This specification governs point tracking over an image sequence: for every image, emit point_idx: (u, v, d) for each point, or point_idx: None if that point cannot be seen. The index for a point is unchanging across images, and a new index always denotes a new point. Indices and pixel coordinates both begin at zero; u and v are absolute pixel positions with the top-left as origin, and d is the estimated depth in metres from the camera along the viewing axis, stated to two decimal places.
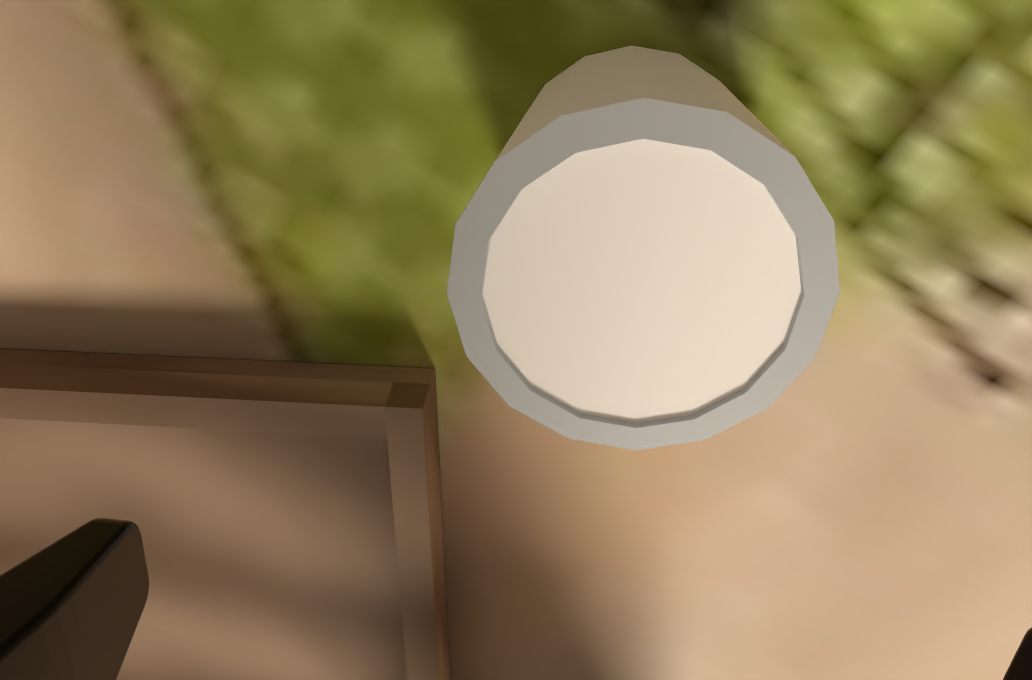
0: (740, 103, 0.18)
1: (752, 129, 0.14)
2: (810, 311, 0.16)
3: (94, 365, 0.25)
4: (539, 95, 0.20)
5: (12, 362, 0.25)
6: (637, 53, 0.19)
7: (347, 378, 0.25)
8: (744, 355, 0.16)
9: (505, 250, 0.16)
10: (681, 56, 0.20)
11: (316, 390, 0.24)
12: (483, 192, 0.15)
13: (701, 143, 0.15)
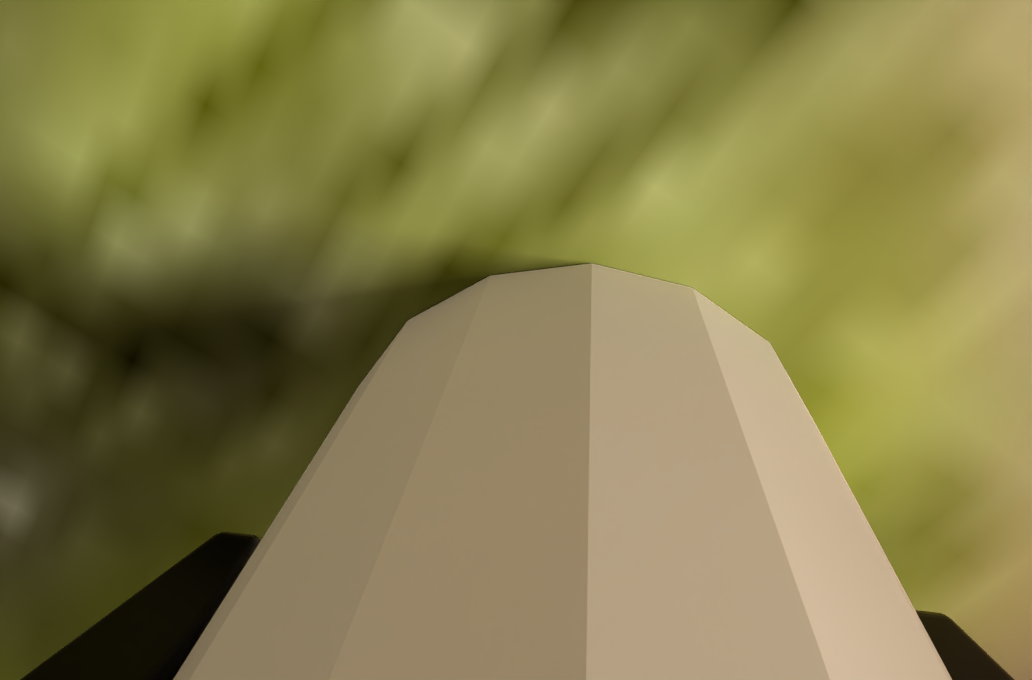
0: (306, 483, 0.07)
1: None
2: None
3: None
4: None
5: None
6: None
7: None
8: None
9: None
10: (344, 408, 0.10)
11: None
12: None
13: None
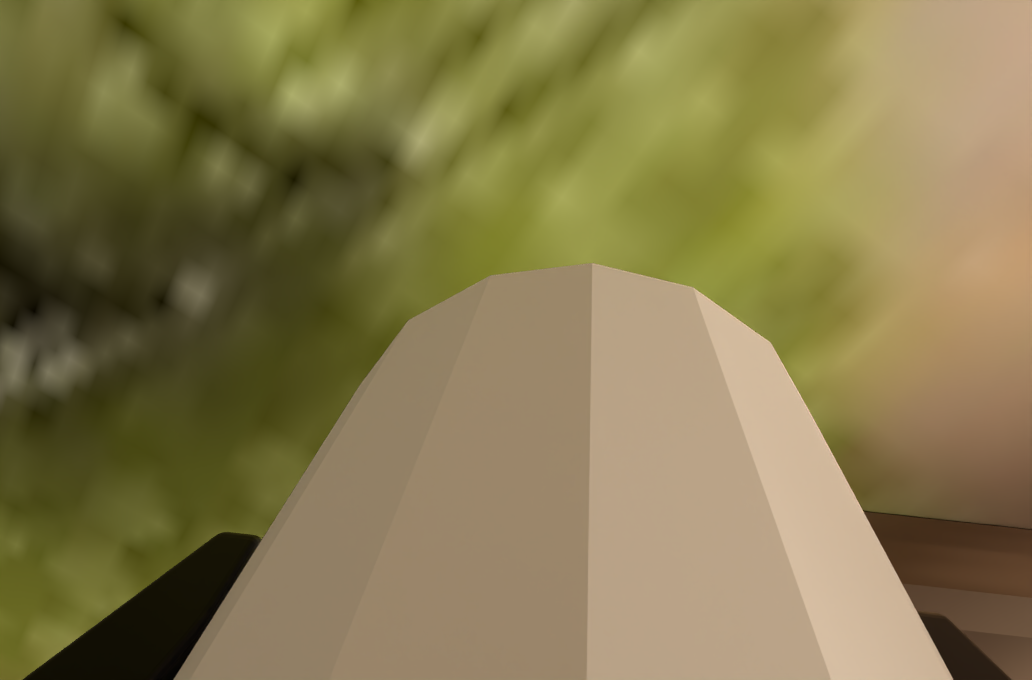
0: (307, 483, 0.07)
1: None
2: None
3: None
4: None
5: None
6: None
7: None
8: None
9: None
10: (345, 408, 0.10)
11: None
12: None
13: None
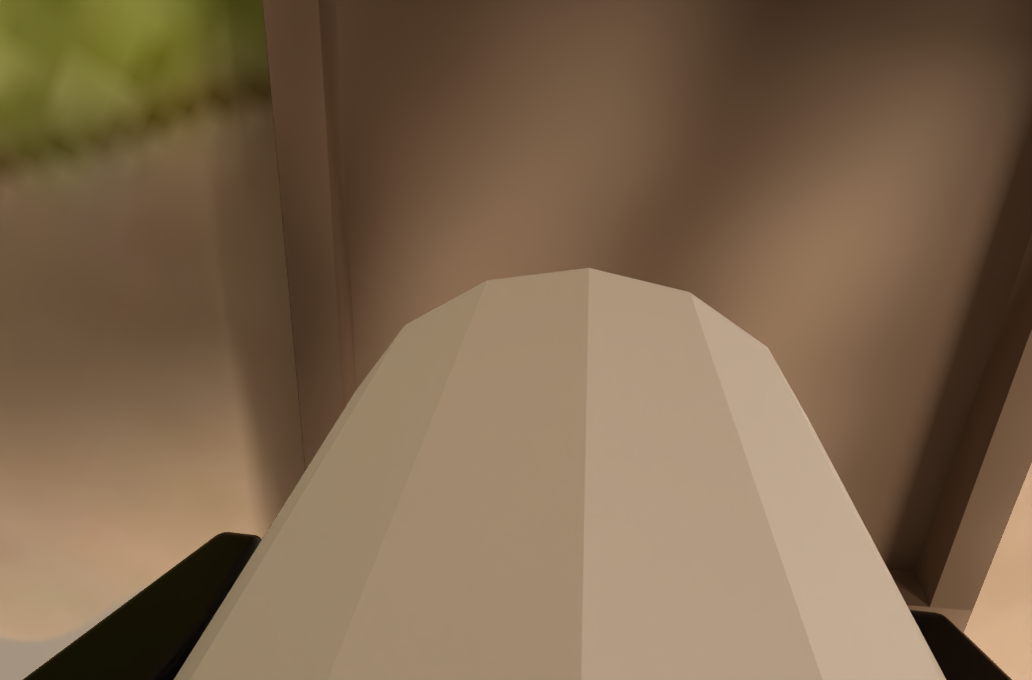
0: (302, 490, 0.07)
1: None
2: None
3: None
4: None
5: None
6: None
7: None
8: None
9: None
10: None
11: None
12: None
13: None
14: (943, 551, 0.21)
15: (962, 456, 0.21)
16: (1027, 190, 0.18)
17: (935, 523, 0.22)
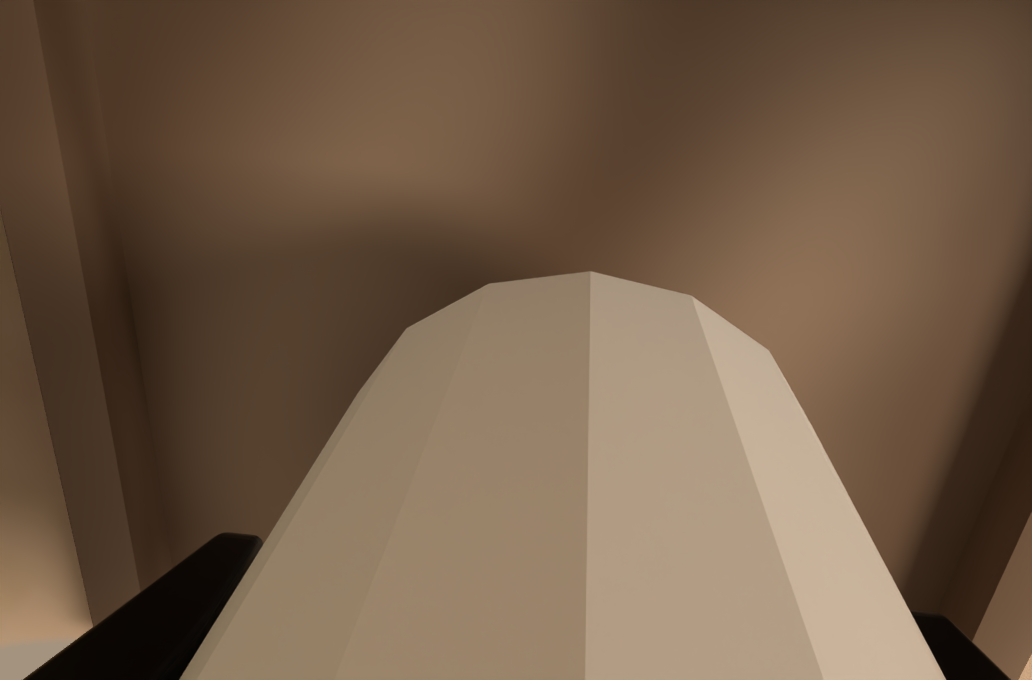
0: (304, 495, 0.07)
1: None
2: None
3: None
4: None
5: None
6: None
7: None
8: None
9: None
10: (343, 416, 0.10)
11: None
12: None
13: None
14: None
15: (972, 559, 0.15)
16: None
17: None
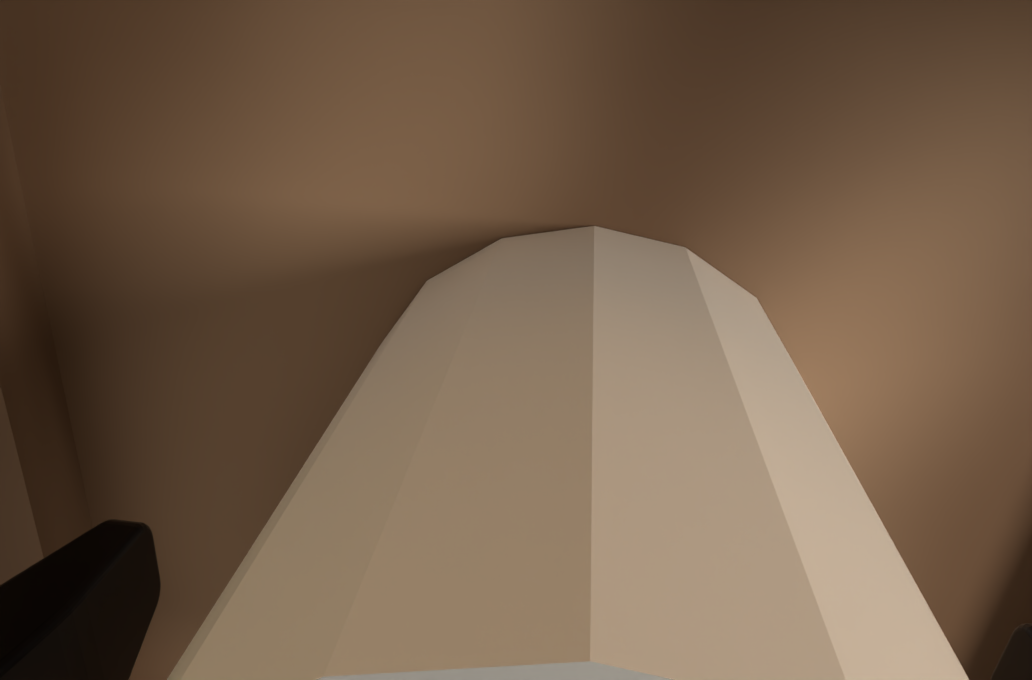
0: (343, 413, 0.08)
1: None
2: None
3: None
4: None
5: None
6: None
7: None
8: None
9: None
10: None
11: None
12: None
13: None
14: None
15: None
16: None
17: None
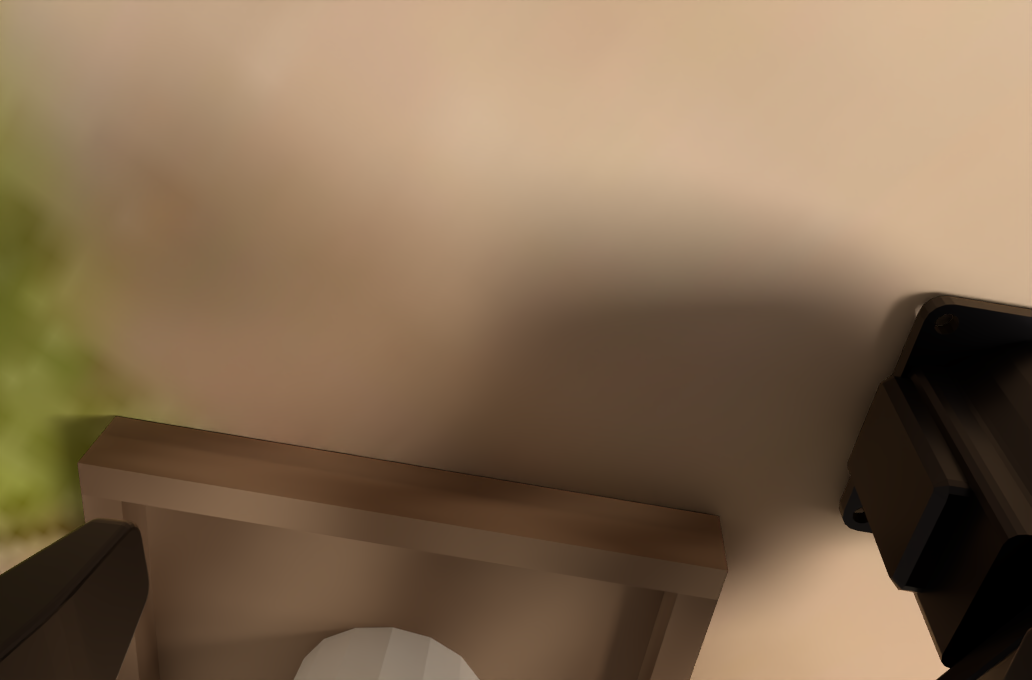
0: None
1: None
2: None
3: None
4: None
5: None
6: None
7: None
8: None
9: None
10: None
11: None
12: None
13: None
14: None
15: None
16: (630, 660, 0.26)
17: None
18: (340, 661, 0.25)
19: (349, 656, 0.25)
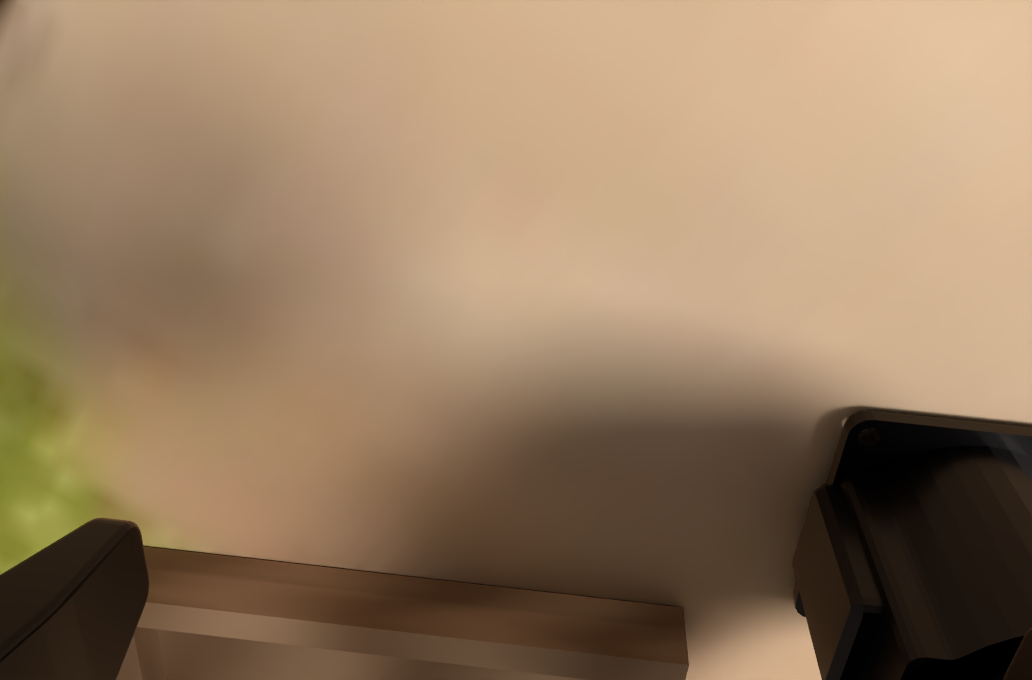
0: None
1: None
2: None
3: None
4: None
5: None
6: None
7: None
8: None
9: None
10: None
11: None
12: None
13: None
14: None
15: None
16: None
17: None
18: None
19: None
